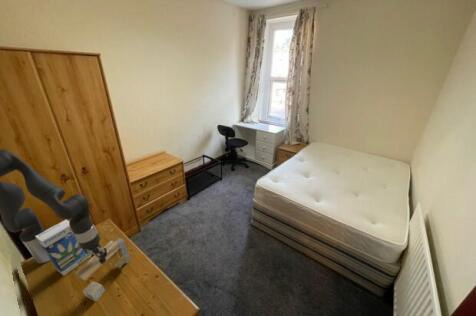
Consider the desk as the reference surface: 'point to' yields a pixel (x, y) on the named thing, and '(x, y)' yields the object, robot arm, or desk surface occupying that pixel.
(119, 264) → the bracket stand
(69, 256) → the string lights box
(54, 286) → the desk surface
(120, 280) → the desk surface
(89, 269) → the pine rail
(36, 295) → the desk surface
